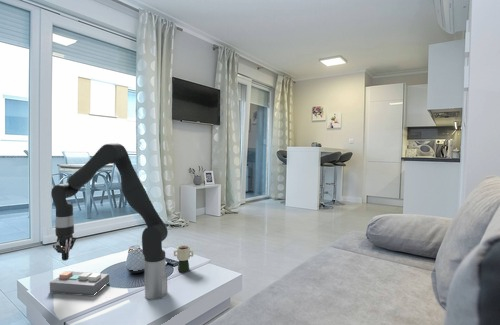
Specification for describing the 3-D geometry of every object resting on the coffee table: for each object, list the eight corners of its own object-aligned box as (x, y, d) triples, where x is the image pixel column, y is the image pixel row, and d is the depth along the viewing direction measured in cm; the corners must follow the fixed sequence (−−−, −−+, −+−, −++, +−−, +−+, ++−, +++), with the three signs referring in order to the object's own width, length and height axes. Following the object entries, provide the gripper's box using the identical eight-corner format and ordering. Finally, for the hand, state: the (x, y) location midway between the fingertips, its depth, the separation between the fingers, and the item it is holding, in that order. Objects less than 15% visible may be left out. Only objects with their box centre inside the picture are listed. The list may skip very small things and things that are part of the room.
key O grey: (91, 281, 142) (91, 273, 142) (86, 284, 139) (86, 276, 138) (84, 280, 143) (84, 272, 142) (78, 284, 139) (78, 276, 139)
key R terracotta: (72, 279, 143) (72, 271, 143) (66, 283, 140) (66, 275, 139) (65, 279, 144) (65, 271, 144) (59, 282, 140) (59, 274, 140)
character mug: (194, 267, 166) (194, 245, 165) (192, 273, 158) (192, 249, 158) (175, 267, 166) (175, 245, 165) (172, 273, 158) (171, 249, 158)
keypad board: (109, 283, 146) (109, 273, 145) (93, 296, 134) (93, 285, 134) (68, 280, 148) (68, 271, 148) (50, 292, 136) (49, 282, 136)
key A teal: (82, 283, 143) (81, 275, 143) (76, 286, 139) (76, 278, 139) (74, 282, 143) (74, 274, 143) (69, 286, 140) (69, 278, 139)
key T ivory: (101, 281, 142) (100, 273, 141) (96, 285, 138) (95, 277, 138) (93, 281, 142) (93, 273, 142) (88, 284, 138) (88, 276, 138)
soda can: (137, 271, 160) (136, 250, 159) (125, 270, 161) (125, 249, 161) (144, 266, 167) (143, 245, 166) (133, 265, 168) (132, 244, 168)
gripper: (61, 229, 133) (62, 266, 134) (81, 221, 146) (81, 255, 147) (46, 228, 134) (47, 265, 135) (67, 220, 147) (68, 254, 148)
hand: (65, 259), depth 141 cm, fingers closed
